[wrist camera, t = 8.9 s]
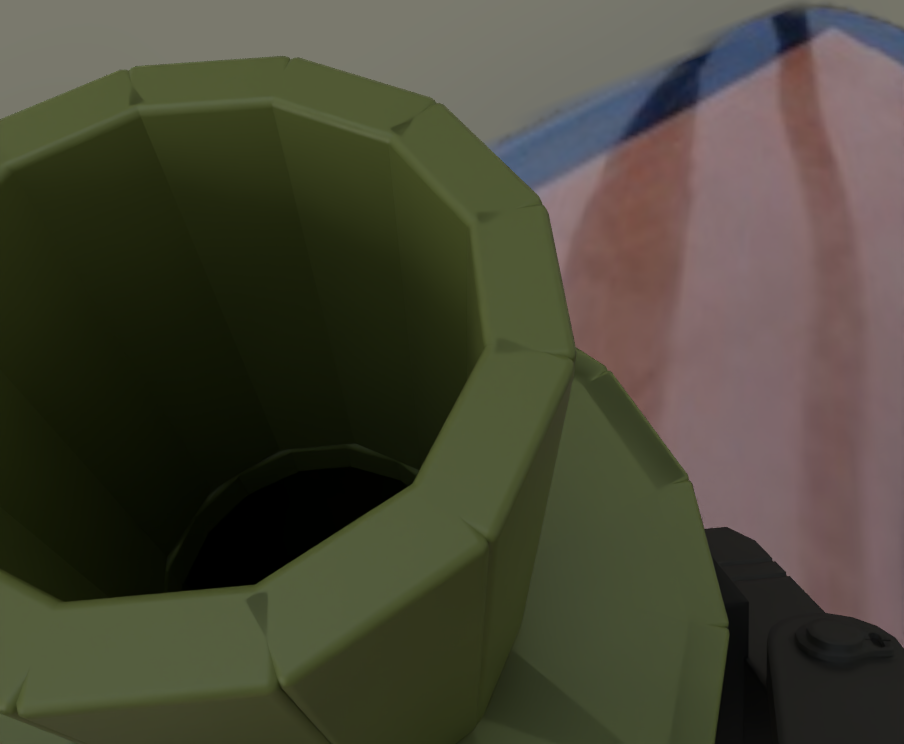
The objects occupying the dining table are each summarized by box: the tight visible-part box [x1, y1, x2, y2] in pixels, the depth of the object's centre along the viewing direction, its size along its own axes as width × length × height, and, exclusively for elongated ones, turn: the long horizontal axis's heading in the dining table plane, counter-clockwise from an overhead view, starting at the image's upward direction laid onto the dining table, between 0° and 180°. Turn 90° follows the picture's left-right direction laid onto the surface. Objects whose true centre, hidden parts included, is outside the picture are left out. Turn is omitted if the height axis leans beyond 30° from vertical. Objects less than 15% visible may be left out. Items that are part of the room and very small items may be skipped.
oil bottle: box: [0, 56, 730, 744], centre depth 11 cm, size 7×7×17 cm
